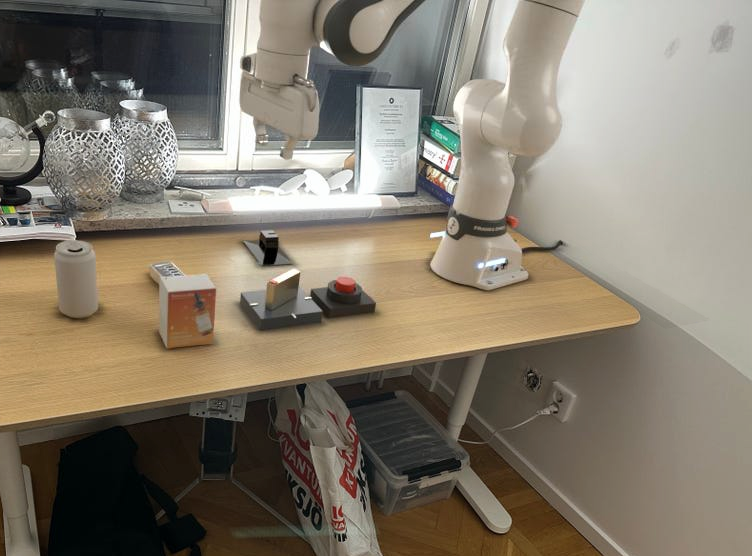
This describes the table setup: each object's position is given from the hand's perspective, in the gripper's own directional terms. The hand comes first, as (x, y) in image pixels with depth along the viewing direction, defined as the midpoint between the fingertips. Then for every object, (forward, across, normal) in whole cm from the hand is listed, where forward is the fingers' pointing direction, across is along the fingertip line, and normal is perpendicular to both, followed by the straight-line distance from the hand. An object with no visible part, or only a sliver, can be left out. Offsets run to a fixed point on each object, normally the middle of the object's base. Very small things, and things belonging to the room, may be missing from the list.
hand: (273, 151), depth 118 cm
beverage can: (+26, +1, +36) cm, 45 cm away
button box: (+25, -16, -9) cm, 31 cm away
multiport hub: (+26, +4, +17) cm, 31 cm away
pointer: (+23, -13, +4) cm, 27 cm away
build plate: (+26, +10, -8) cm, 29 cm away
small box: (+26, -14, +24) cm, 38 cm away
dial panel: (+26, -13, +4) cm, 29 cm away
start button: (+22, -16, -9) cm, 28 cm away
